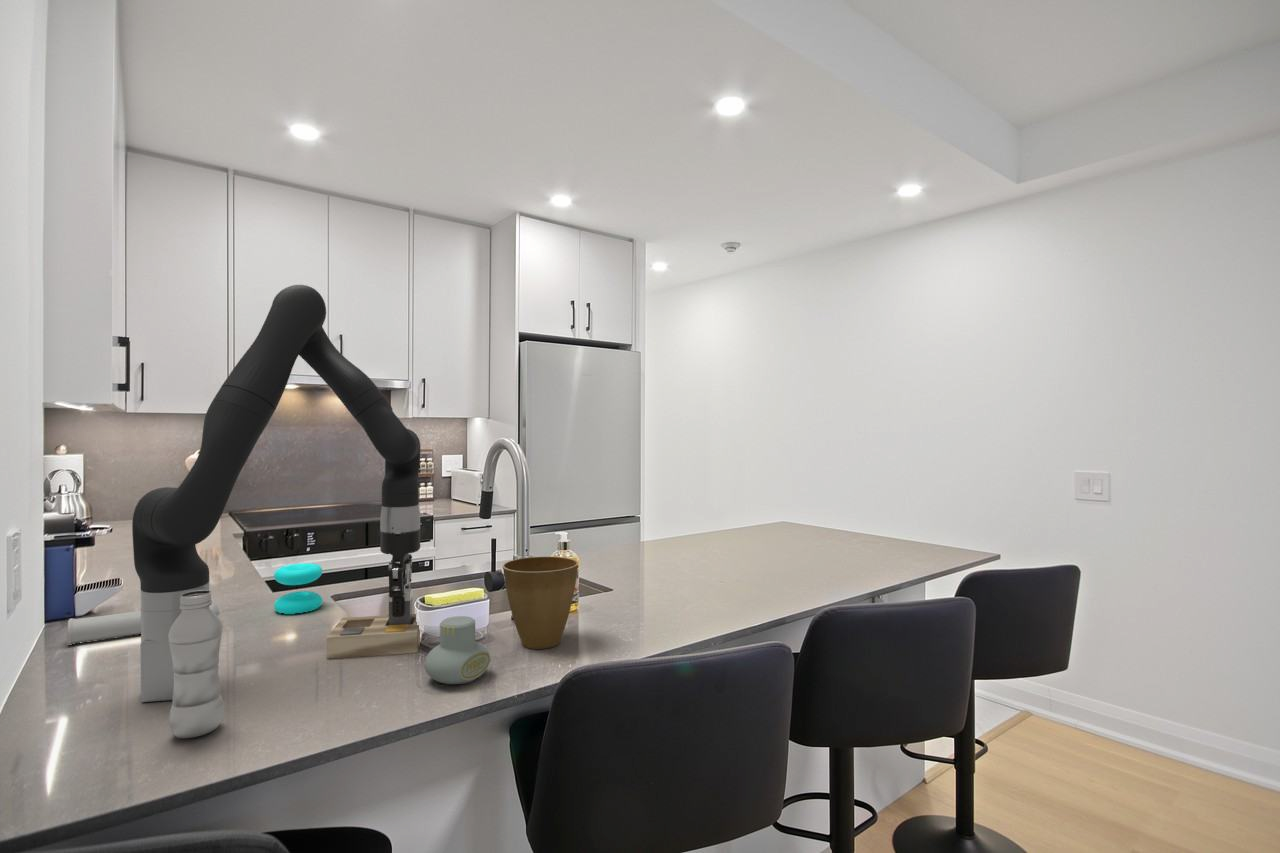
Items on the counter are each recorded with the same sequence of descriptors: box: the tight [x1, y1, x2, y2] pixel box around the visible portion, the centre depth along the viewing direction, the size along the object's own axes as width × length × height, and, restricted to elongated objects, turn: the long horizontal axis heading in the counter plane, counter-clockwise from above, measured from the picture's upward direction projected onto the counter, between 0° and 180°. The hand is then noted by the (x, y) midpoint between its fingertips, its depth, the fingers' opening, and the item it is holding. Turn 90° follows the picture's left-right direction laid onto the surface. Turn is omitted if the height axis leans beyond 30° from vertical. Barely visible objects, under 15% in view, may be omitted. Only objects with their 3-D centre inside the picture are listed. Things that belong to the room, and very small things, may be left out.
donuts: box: [273, 562, 323, 615], centre depth 153 cm, size 10×10×10 cm
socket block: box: [326, 613, 421, 660], centre depth 129 cm, size 12×16×4 cm
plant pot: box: [502, 555, 579, 650], centre depth 131 cm, size 15×15×16 cm
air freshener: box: [424, 615, 491, 685], centre depth 113 cm, size 11×8×10 cm
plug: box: [388, 587, 413, 625], centre depth 132 cm, size 4×4×10 cm
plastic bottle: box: [168, 589, 225, 739], centre depth 93 cm, size 6×7×20 cm
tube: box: [66, 602, 220, 646], centre depth 136 cm, size 5×5×25 cm
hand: (400, 611), depth 132 cm, fingers open, 5 cm apart
